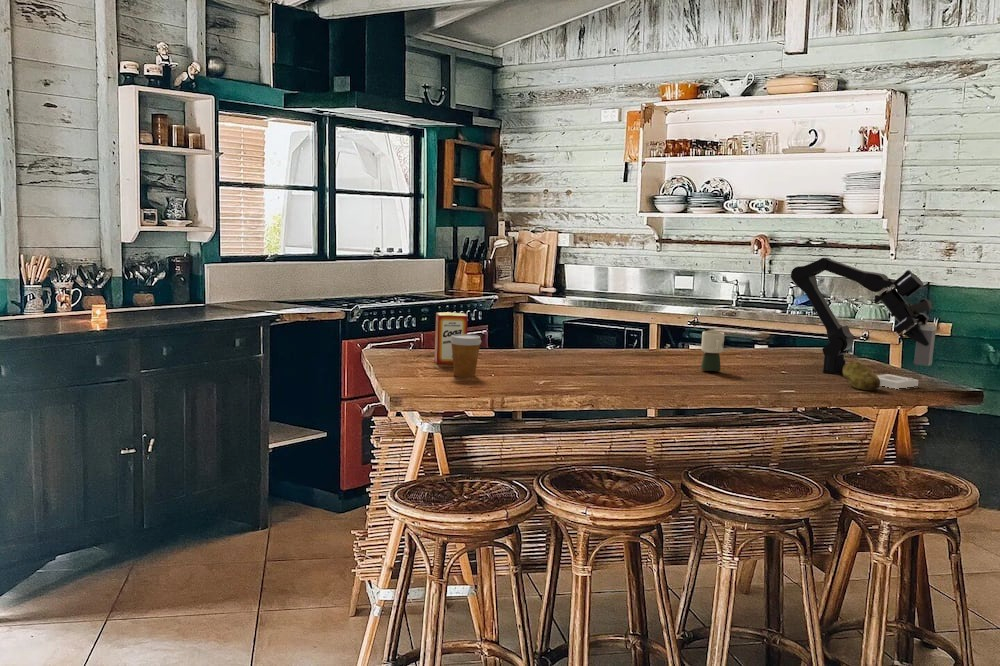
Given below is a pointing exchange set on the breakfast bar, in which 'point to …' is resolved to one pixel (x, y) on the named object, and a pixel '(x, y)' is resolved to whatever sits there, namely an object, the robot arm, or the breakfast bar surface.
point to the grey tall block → (925, 352)
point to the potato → (860, 376)
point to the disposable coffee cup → (465, 354)
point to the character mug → (712, 350)
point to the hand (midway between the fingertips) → (929, 344)
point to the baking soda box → (448, 334)
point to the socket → (896, 381)
